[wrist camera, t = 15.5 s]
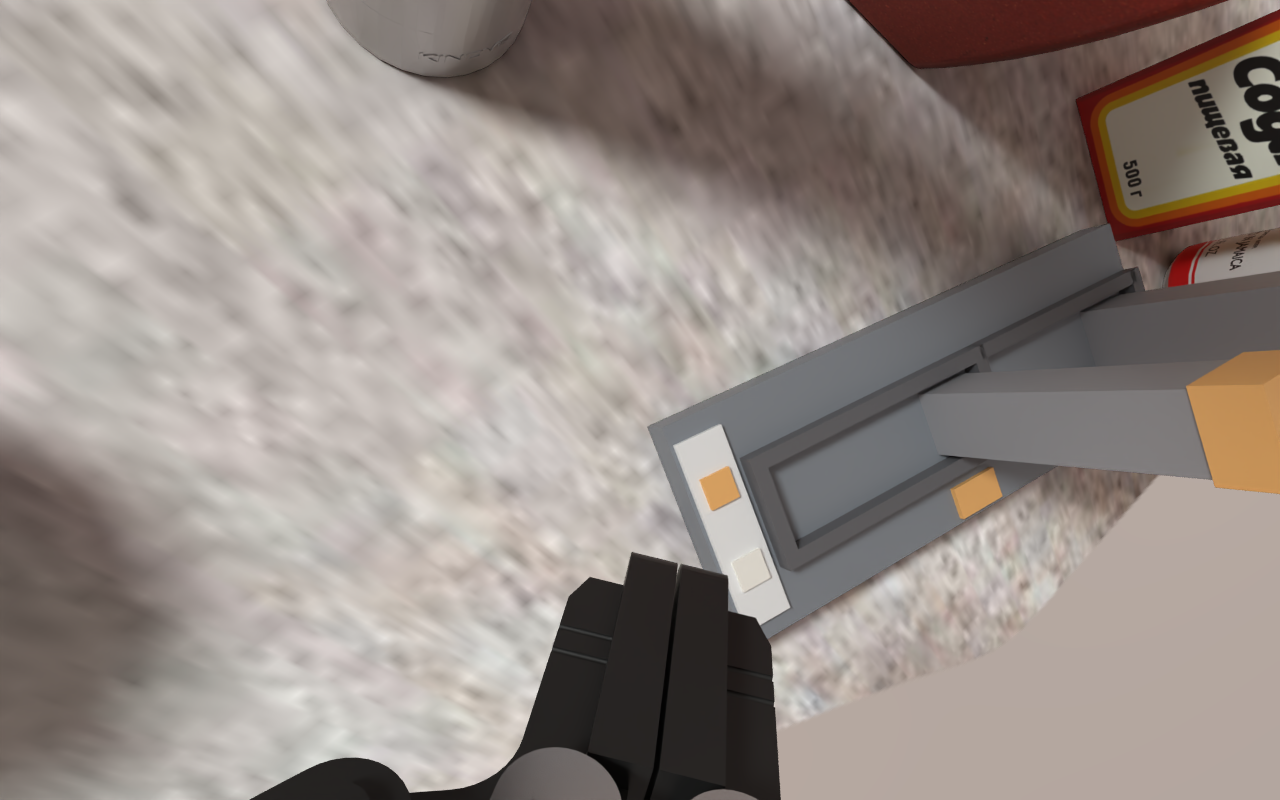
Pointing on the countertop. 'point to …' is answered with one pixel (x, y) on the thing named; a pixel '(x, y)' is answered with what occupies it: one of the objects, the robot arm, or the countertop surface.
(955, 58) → the plant pot
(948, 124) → the countertop surface
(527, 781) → the robot arm
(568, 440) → the countertop surface
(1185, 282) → the beer can
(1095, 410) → the switch orange
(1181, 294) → the switch cream
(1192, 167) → the baking soda box
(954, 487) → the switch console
